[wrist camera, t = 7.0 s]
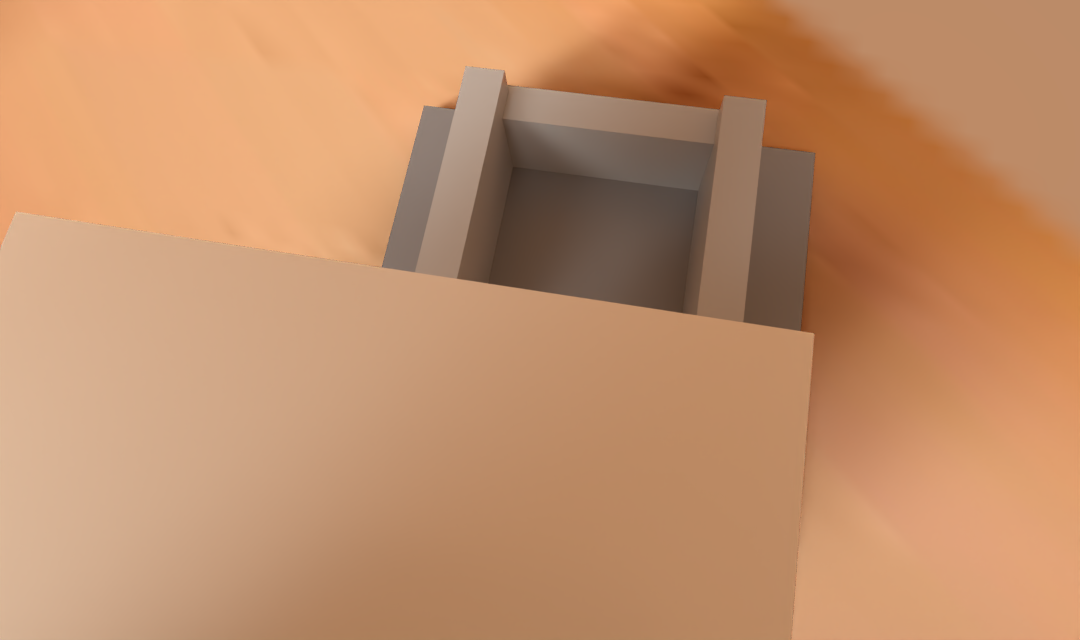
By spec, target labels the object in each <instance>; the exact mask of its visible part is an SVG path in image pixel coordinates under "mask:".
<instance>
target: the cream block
mask: <svg viewBox="0 0 1080 640" xmlns="http://www.w3.org/2000/svg"><path fill="white" fill-rule="evenodd" d="M813 346H814V333H809V332H803V331H796V330H790V329H783V328H776V327H770V326H763V325H757V324H750V323H744V322H737V321H731V320H724V319H717V318H711V317H704V316H698V315H691V314H685V313H678V312H671V311H665V310H658V309H652V308H645V307H639V306H632V305H626V304H619V303H612V302H606V301H599V300H593V299H586V298H580V297H573V296H566V295H560V294H553V293H547V292H540V291H534V290H527V289H521V288H514V287H507V286H501V285H494V284H488V283H481V282H475V281H468V280H461V279H455V278H448V277H442V276H435V275H429V274H422V273H416V272H409V271H402V270H396V269H389V268H383V267H376V266H370V265H363V264H357V263H350V262H343V261H337V260H330V259H324V258H317V257H311V256H304V255H297V254H291V253H284V252H278V251H271V250H265V249H258V248H252V247H245V246H238V245H232V244H225V243H219V242H212V241H206V240H199V239H192V238H186V237H179V236H173V235H166V234H160V233H153V232H147V231H140V230H133V229H127V228H120V227H114V226H107V225H101V224H94V223H87V222H81V221H74V220H68V219H61V218H55V217H48V216H42V215H35V214H28V213H22V212H16V213H15V215H14V217H13V220H12V222H11V224H10V227H9V229H8V231H7V234H6V236H5V238H4V241H3V243H2V245H1V247H0V640H791V639H792V626H793V612H794V599H795V586H796V572H797V559H798V546H799V532H800V519H801V506H802V492H803V479H804V466H805V452H806V439H807V426H808V412H809V399H810V386H811V372H812V359H813Z"/></svg>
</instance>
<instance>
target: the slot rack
mask: <svg viewBox="0 0 1080 640" xmlns="http://www.w3.org/2000/svg"><path fill="white" fill-rule="evenodd" d="M766 102H767V100H762V99H753V98H744V97H735V96H726V95H724V98H723V101H722V104H721V107H720V110H719V109H710V108H701V107H693V106H684V105H675V104H667V103H658V102H649V101H641V100H632V99H623V98H614V97H606V96H597V95H588V94H580V93H571V92H562V91H554V90H545V89H536V88H528V87H519V86H510V85H507V81H506V76H505V71H504V70H495V69H486V68H477V67H468V66H466V68H465V72H464V76H463V80H462V84H461V88H460V92H459V96H458V100H457V104H456V108H455V109H448V108H439V107H431V106H424V108H423V112H422V116H421V119H420V123H419V127H418V131H417V135H416V139H415V142H414V146H413V150H412V154H411V158H410V161H409V165H408V169H407V173H406V177H405V181H404V184H403V188H402V192H401V196H400V200H399V204H398V207H397V211H396V215H395V219H394V223H393V226H392V230H391V234H390V238H389V242H388V246H387V249H386V253H385V257H384V261H383V265H382V267H383V268H389V269H396V270H402V271H409V272H416V273H422V274H429V275H435V276H442V277H448V278H455V279H461V280H468V281H475V282H481V283H488V284H494V285H501V286H507V287H514V288H521V289H527V290H534V291H540V292H547V293H553V294H560V295H566V296H573V297H580V298H586V299H593V300H599V301H606V302H612V303H619V304H626V305H632V306H639V307H645V308H652V309H658V310H665V311H671V312H678V313H685V314H691V315H698V316H704V317H711V318H717V319H724V320H731V321H737V322H744V323H750V324H757V325H763V326H770V327H776V328H783V329H790V330H796V331H801V321H802V309H803V297H804V285H805V272H806V260H807V248H808V236H809V223H810V211H811V199H812V187H813V174H814V162H815V153H812V152H804V151H796V150H788V149H779V148H771V147H763V146H762V140H763V131H764V121H765V112H766Z"/></svg>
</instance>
